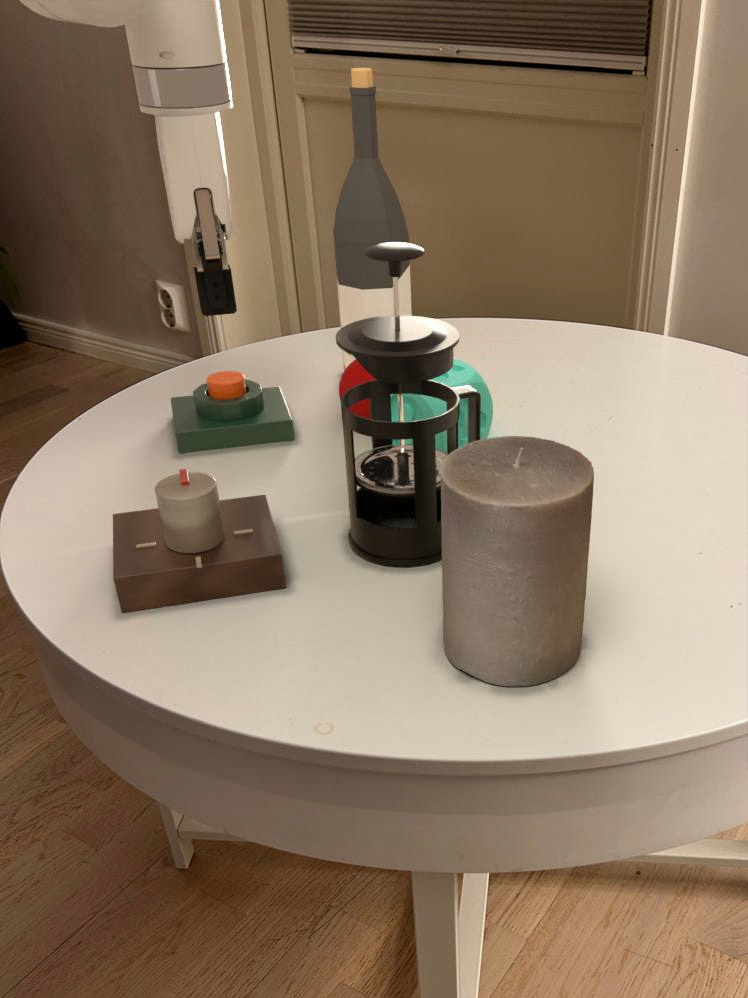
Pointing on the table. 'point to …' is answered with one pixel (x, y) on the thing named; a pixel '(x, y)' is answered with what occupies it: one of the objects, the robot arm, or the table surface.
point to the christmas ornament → (352, 378)
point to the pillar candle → (515, 557)
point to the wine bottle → (367, 221)
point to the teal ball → (431, 407)
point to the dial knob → (190, 512)
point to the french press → (400, 426)
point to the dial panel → (196, 558)
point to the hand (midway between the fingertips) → (219, 311)
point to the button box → (231, 419)
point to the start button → (226, 385)
